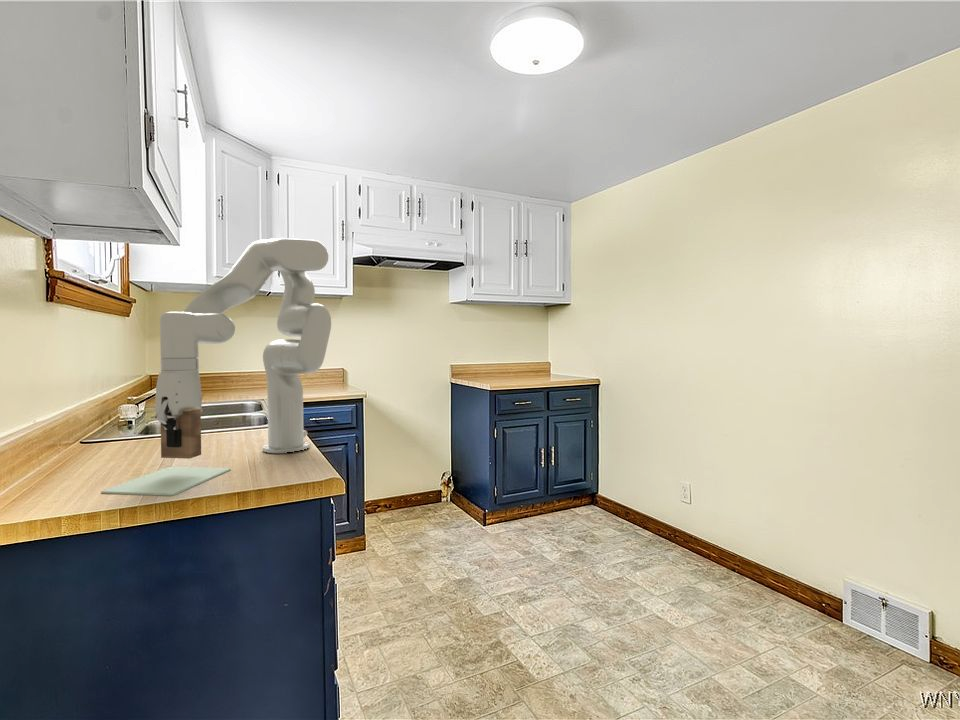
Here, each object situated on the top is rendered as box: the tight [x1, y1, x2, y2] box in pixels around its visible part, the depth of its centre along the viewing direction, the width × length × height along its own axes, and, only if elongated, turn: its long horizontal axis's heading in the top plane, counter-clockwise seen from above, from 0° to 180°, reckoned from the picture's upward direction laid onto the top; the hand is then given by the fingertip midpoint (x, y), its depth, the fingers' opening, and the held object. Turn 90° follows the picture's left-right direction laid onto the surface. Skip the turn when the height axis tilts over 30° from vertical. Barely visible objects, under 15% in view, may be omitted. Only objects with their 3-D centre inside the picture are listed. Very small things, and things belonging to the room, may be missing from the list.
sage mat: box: [100, 466, 232, 497], centre depth 115 cm, size 20×16×1 cm
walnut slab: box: [160, 408, 202, 460], centre depth 118 cm, size 4×7×11 cm, turn 84°
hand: (181, 444), depth 118 cm, fingers closed on walnut slab, 4 cm apart
